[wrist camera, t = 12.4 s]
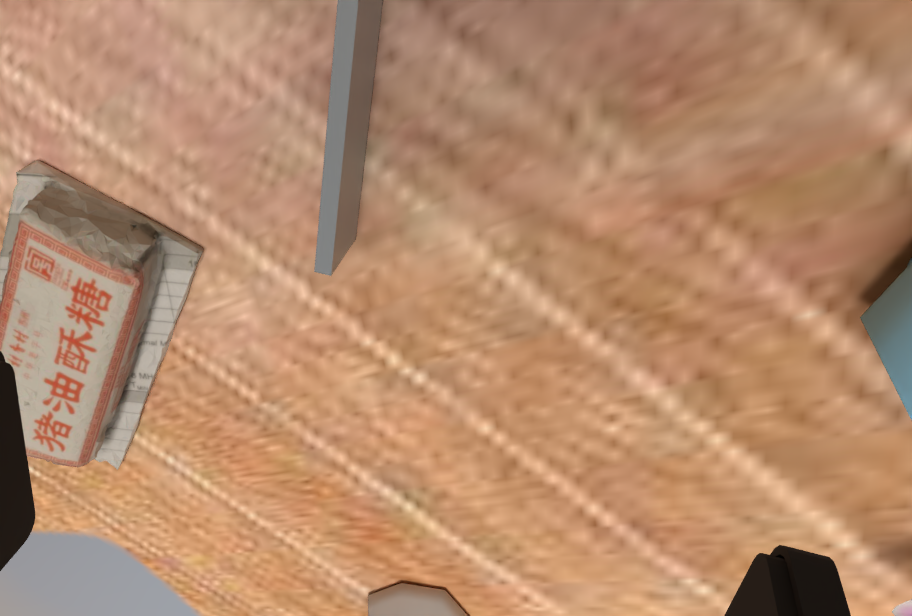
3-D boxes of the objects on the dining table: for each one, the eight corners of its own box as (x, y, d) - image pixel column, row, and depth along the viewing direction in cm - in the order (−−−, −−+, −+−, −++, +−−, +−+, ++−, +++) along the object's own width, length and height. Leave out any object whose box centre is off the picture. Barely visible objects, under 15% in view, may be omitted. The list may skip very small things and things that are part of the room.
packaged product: (-28, 184, 38) (167, 286, 39) (36, 150, 42) (211, 242, 43) (-73, 435, 47) (86, 512, 48) (-17, 387, 51) (128, 458, 52)
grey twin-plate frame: (-206, -295, 33) (-302, -311, 29) (402, -174, 31) (375, -176, 28) (-117, 128, 42) (-182, 153, 39) (355, 239, 40) (331, 275, 37)
